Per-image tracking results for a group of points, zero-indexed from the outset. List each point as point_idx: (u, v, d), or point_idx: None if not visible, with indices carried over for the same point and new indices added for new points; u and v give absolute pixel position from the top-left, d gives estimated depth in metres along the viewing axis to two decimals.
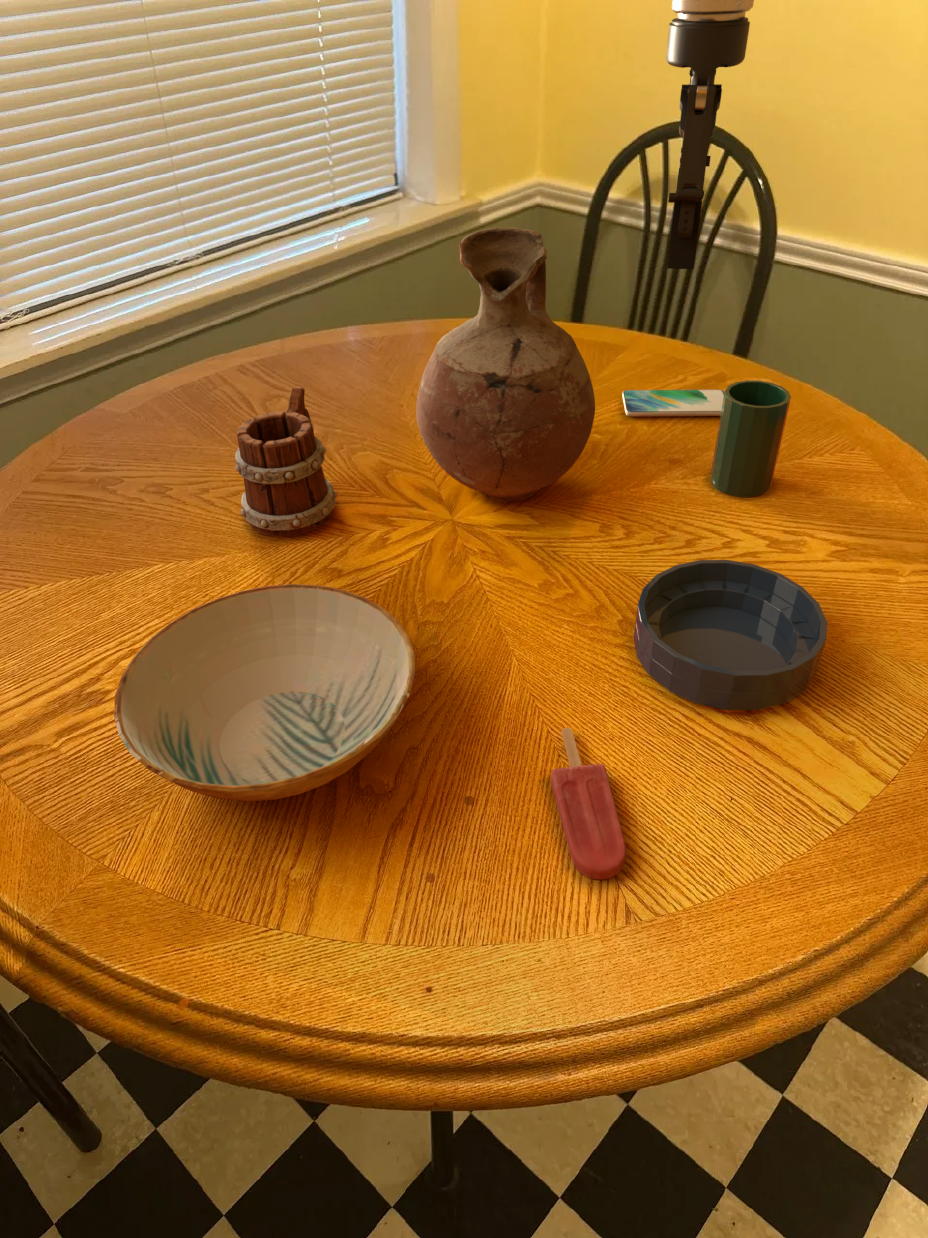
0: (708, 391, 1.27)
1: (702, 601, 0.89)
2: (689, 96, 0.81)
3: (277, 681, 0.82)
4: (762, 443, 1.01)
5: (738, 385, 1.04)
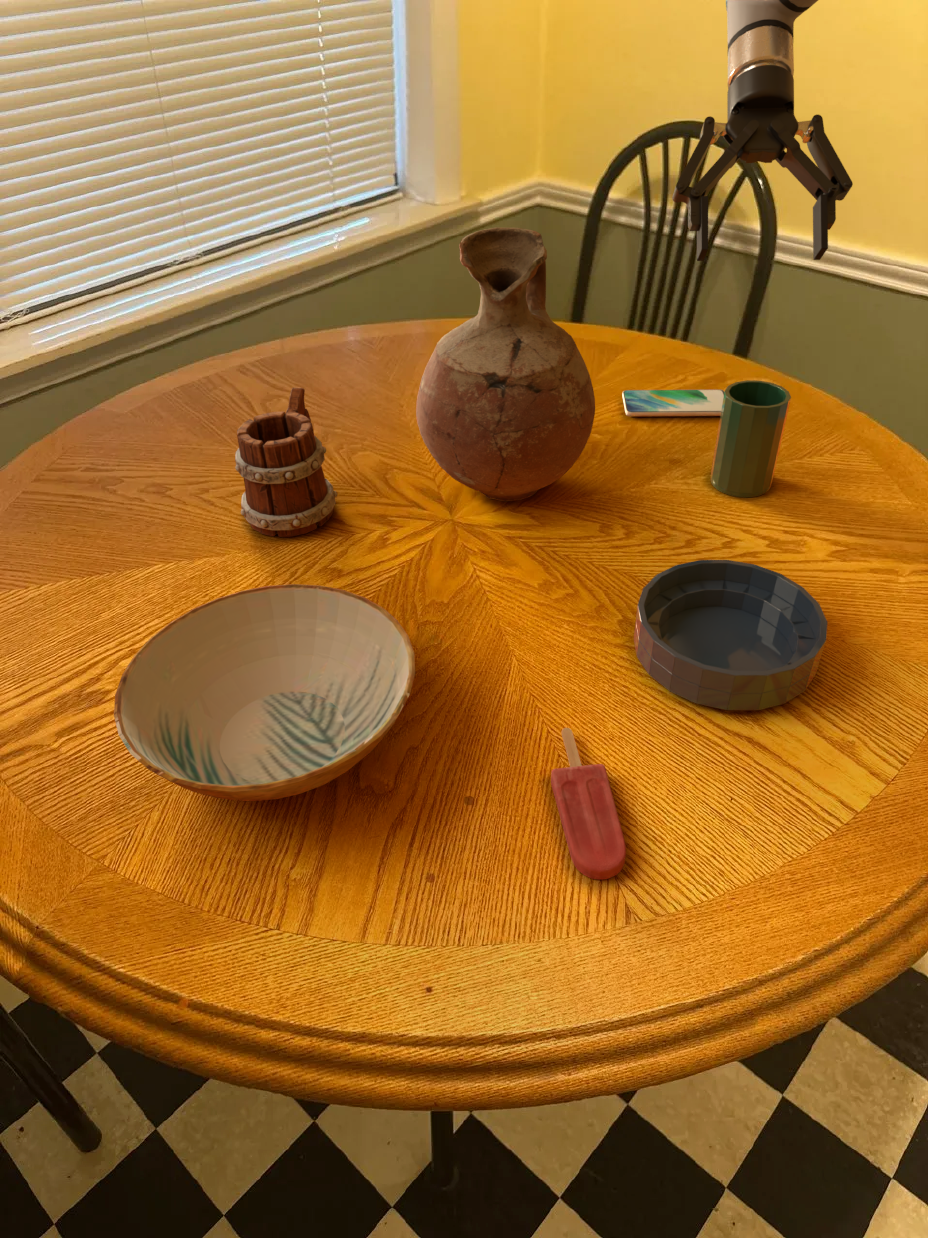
0: (708, 391, 1.27)
1: (702, 601, 0.89)
2: (700, 135, 1.04)
3: (277, 681, 0.82)
4: (762, 443, 1.01)
5: (738, 385, 1.04)
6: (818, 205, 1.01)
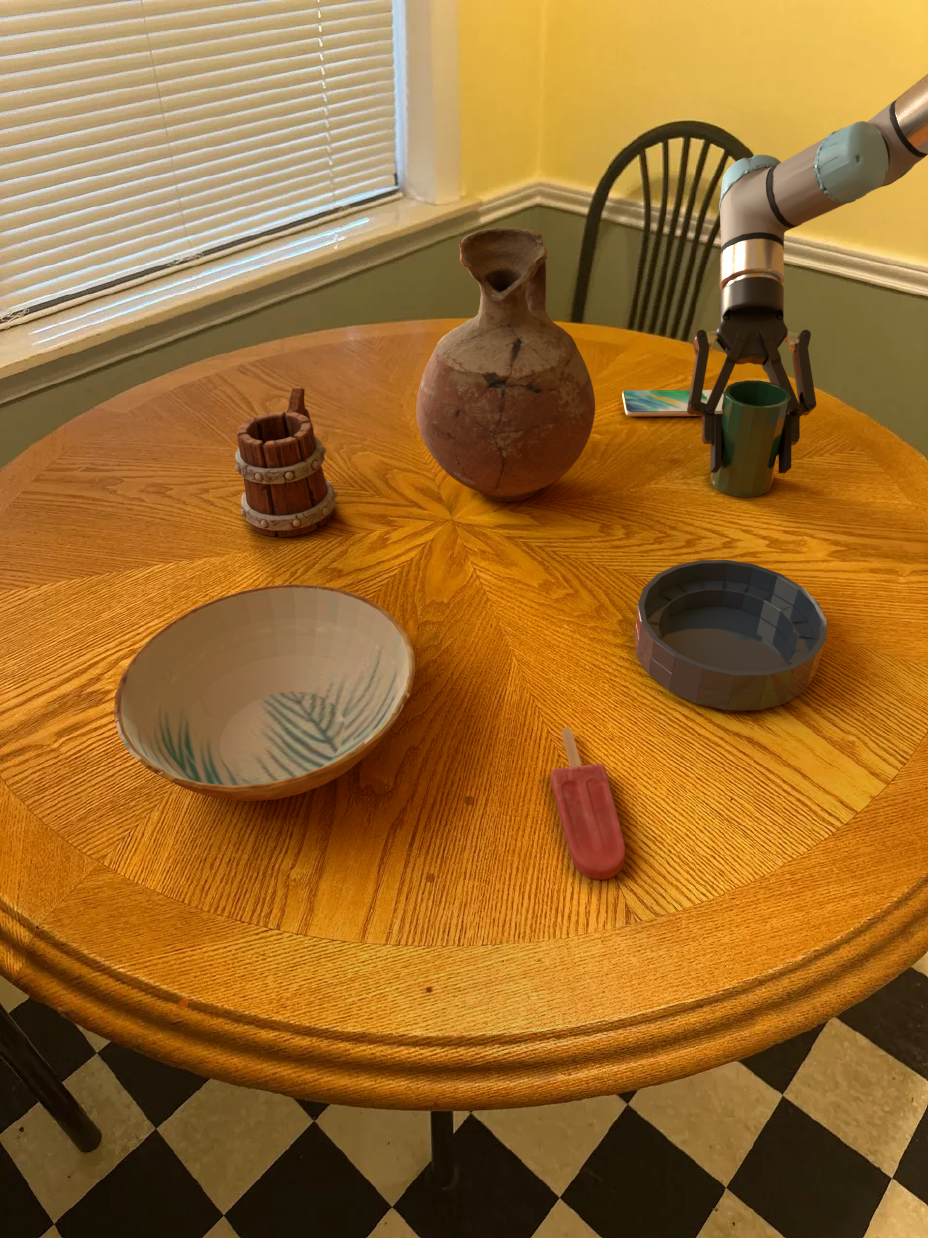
0: (708, 391, 1.27)
1: (702, 601, 0.89)
2: None
3: (277, 681, 0.82)
4: (762, 443, 1.01)
5: (738, 385, 1.04)
6: None
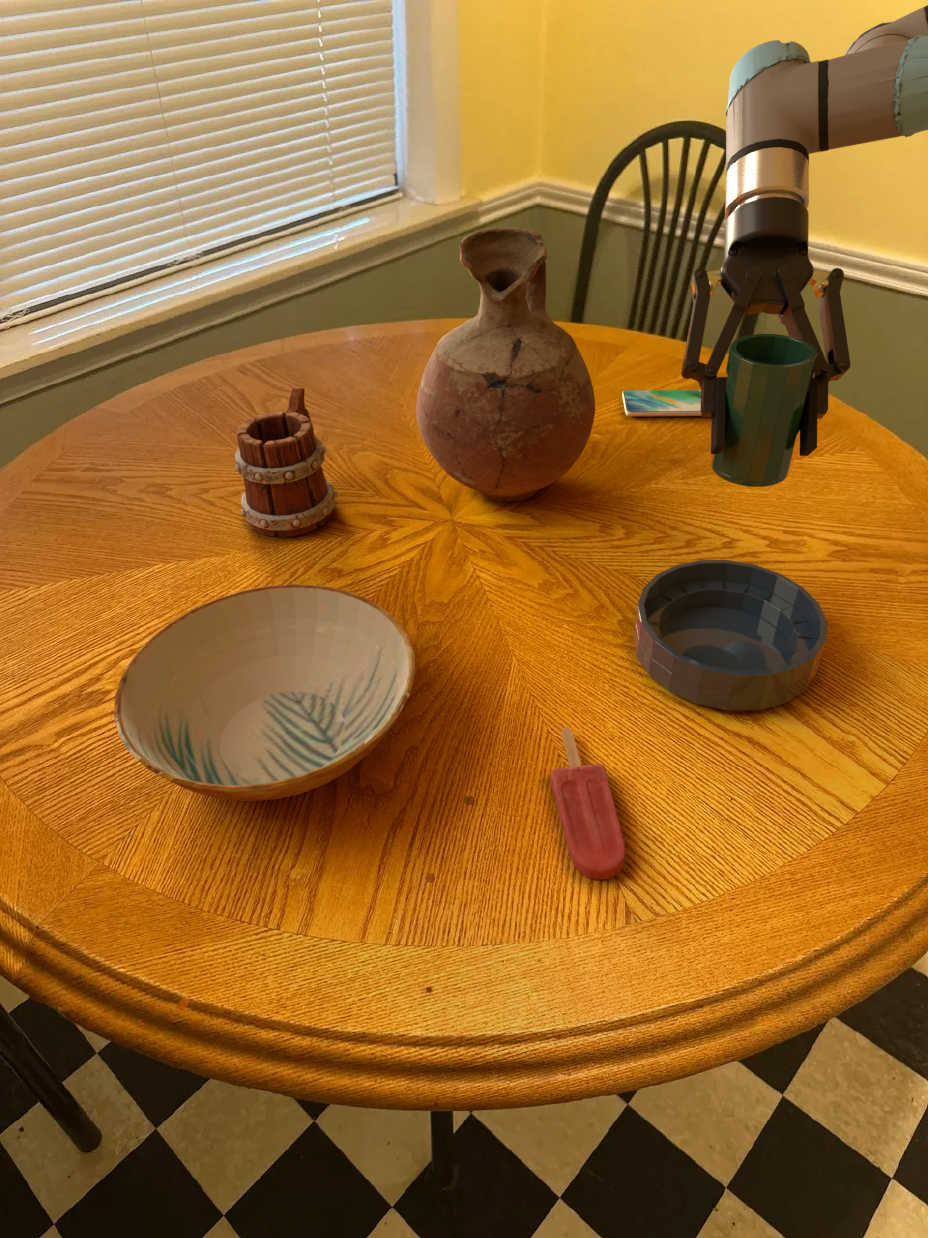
0: None
1: (702, 601, 0.89)
2: None
3: (277, 681, 0.82)
4: (779, 415, 0.77)
5: (748, 340, 0.80)
6: None
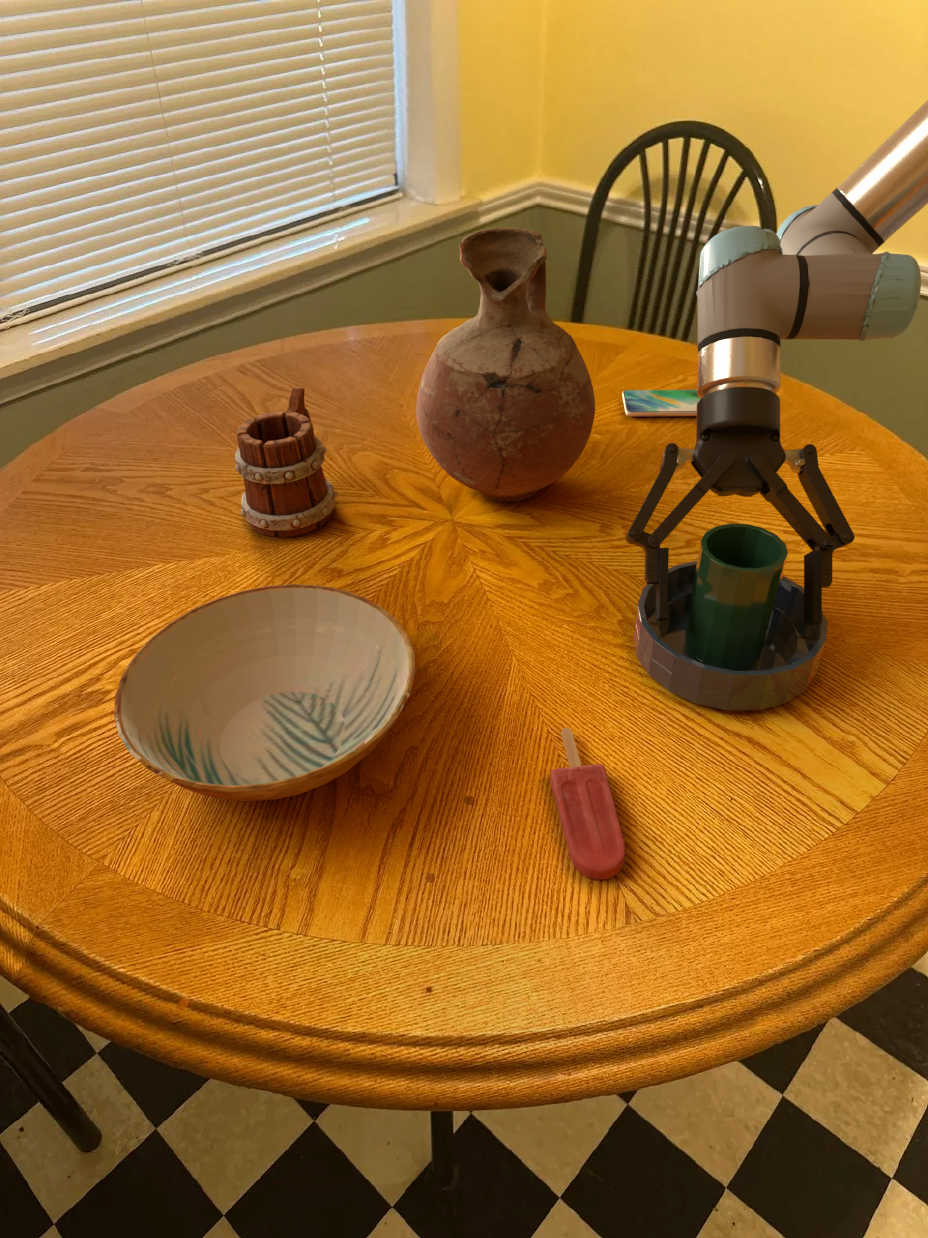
0: None
1: None
2: None
3: (277, 681, 0.82)
4: (750, 612, 0.77)
5: (719, 530, 0.79)
6: (810, 561, 0.79)
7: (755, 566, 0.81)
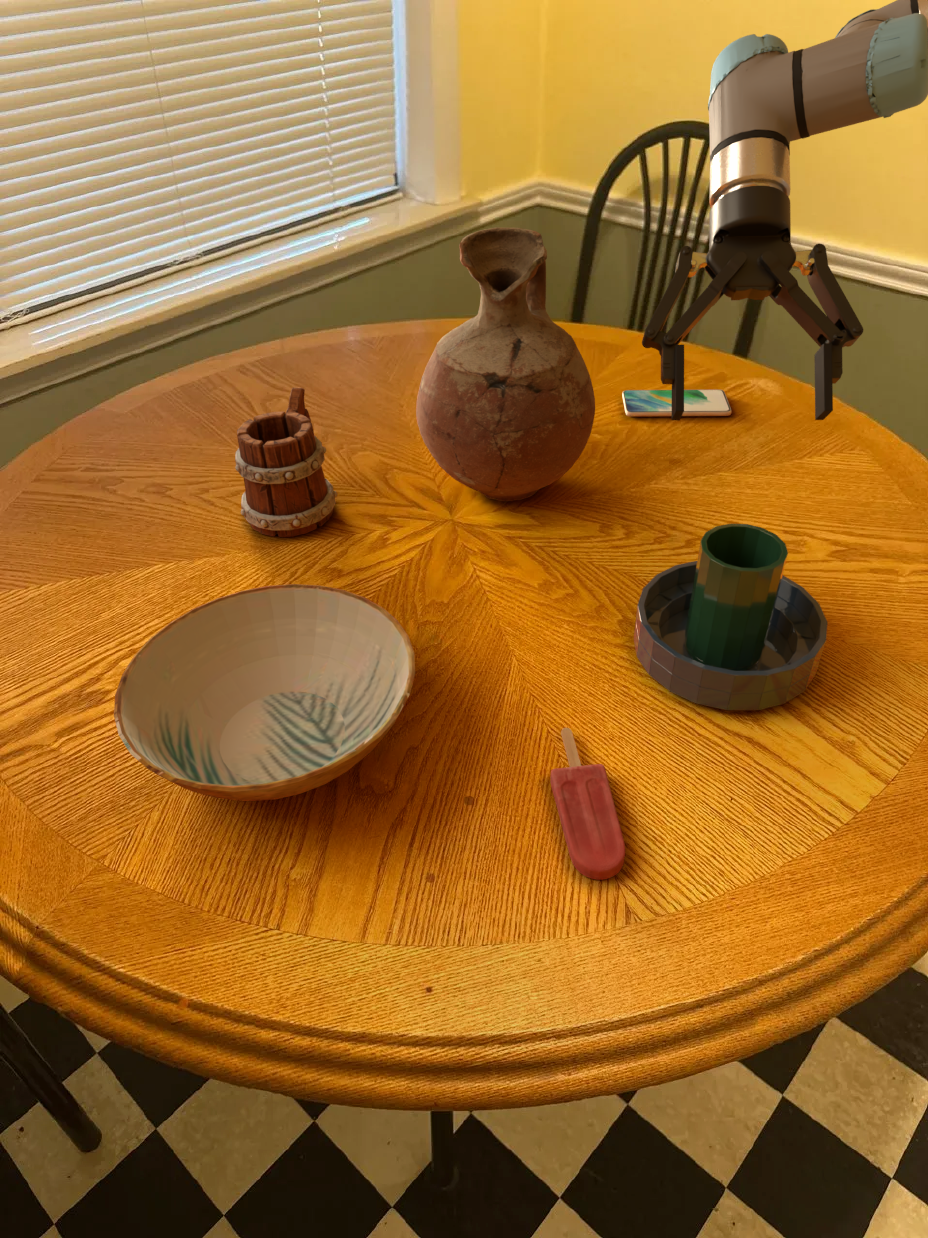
0: (708, 391, 1.27)
1: None
2: (676, 266, 0.85)
3: (277, 681, 0.82)
4: (750, 612, 0.77)
5: (719, 530, 0.79)
6: (820, 355, 0.81)
7: (755, 566, 0.81)
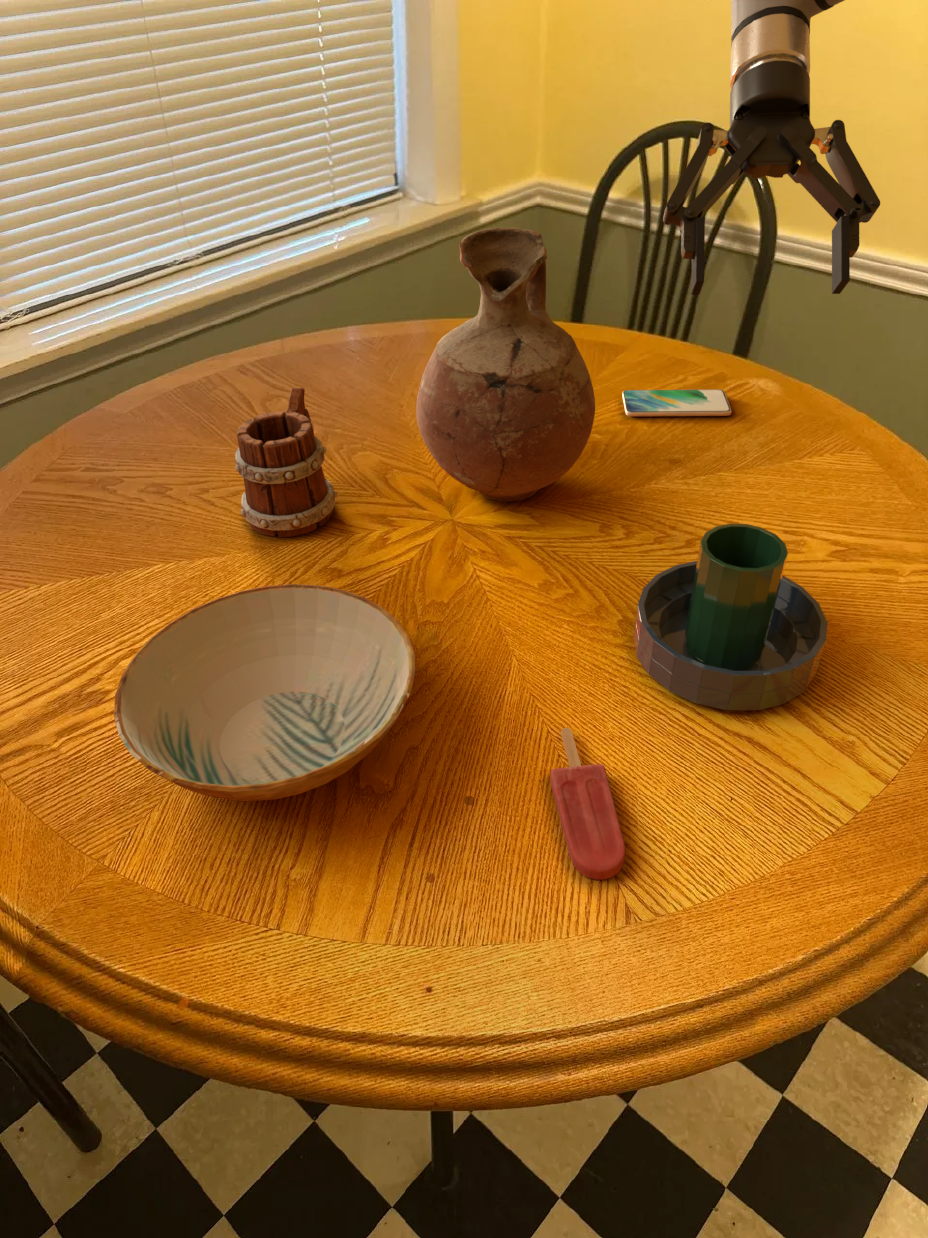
0: (708, 391, 1.27)
1: None
2: (697, 145, 0.87)
3: (277, 681, 0.82)
4: (750, 612, 0.77)
5: (719, 530, 0.79)
6: (838, 229, 0.83)
7: (755, 566, 0.81)
